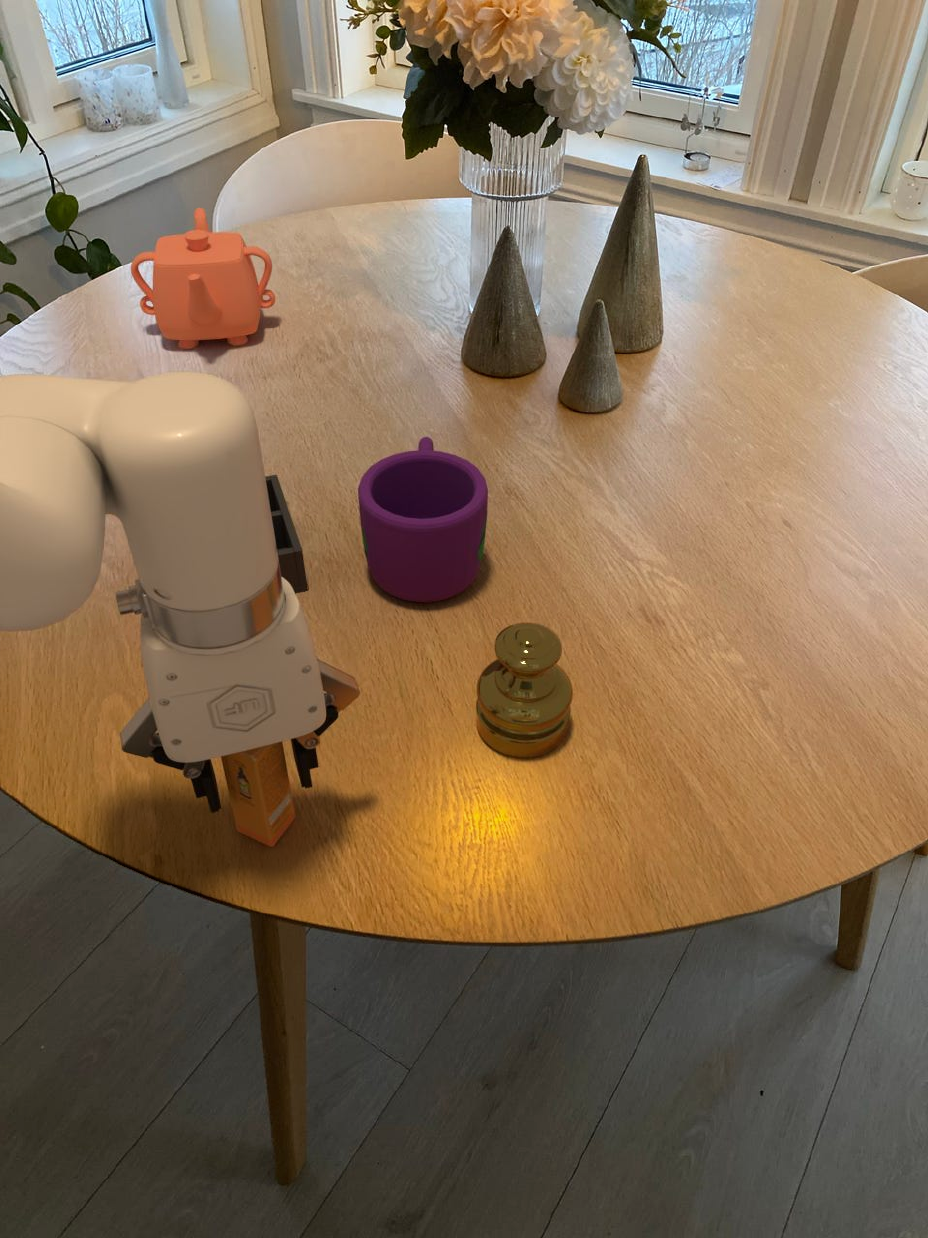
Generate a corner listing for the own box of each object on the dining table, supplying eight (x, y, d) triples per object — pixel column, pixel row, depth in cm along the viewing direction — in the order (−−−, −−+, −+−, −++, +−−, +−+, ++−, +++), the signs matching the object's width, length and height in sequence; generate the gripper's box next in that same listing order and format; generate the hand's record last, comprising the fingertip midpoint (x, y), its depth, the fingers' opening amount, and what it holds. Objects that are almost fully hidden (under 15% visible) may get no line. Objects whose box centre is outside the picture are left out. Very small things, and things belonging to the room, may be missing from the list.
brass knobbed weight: (579, 751, 75) (593, 663, 68) (487, 767, 74) (491, 679, 67) (553, 683, 80) (563, 594, 73) (466, 696, 79) (468, 608, 72)
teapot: (210, 373, 116) (191, 272, 107) (124, 331, 123) (100, 233, 114) (299, 329, 124) (288, 231, 116) (214, 292, 132) (198, 197, 123)
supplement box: (300, 815, 70) (284, 727, 63) (272, 850, 68) (252, 763, 61) (263, 797, 71) (243, 708, 64) (234, 831, 69) (211, 743, 62)
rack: (173, 618, 85) (162, 578, 82) (159, 536, 93) (148, 497, 90) (307, 590, 88) (302, 550, 85) (282, 513, 96) (276, 474, 93)
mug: (486, 613, 86) (489, 525, 79) (359, 612, 86) (351, 524, 79) (483, 497, 99) (485, 412, 92) (372, 496, 98) (366, 411, 92)
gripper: (57, 671, 49) (136, 863, 62) (380, 601, 53) (393, 794, 66) (53, 579, 54) (127, 773, 67) (348, 522, 59) (365, 715, 71)
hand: (258, 782), depth 66 cm, fingers open, 5 cm apart
